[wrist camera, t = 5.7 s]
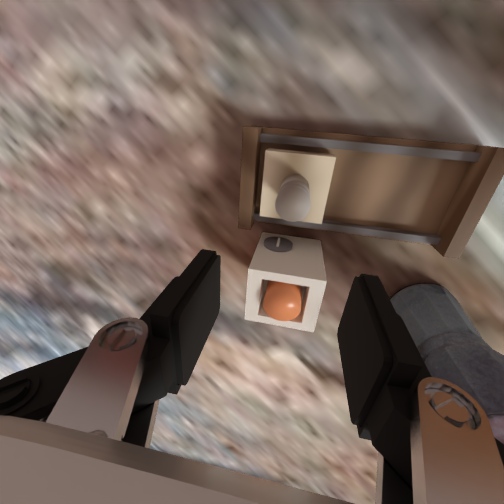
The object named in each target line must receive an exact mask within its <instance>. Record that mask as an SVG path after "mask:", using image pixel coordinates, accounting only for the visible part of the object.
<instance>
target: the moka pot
mask: <svg viewBox="0 0 504 504" xmlns="http://www.w3.org/2000/svg"><path fill="white" fill-rule="evenodd" d="M390 301H391V303H392V305H393V307H394V309H395V311H396V313H397V314H398V315H400V316H401V318H402V319H403V321H404V323H405V325H406V327H407V329H408V331H409V333H410V335H411V337H412V339H413V341H414V343H415V345H416V347H417V349H418V351H419V353H420V355H421V357H422V359H423V361H424V363H425V364H426V366H427V368H428V370H429V372H430V374H431V376H432V377H435V378H440V379H443V380H447V381H449V382H451V383H453V384H455V385H457V386H458V387H460V388H461V389H463V390H464V391H466V392H467V393H468V394H469V395H470V396H471V397H473V398H474V399H475V400H476V401H477V402H478V404H479V405H480V406H481V407H482V409H483V410H484V411H485V414H486V416H487V418H488V420H489V422H490V426H491V429H492V432H493V435H494V437H495V438H496V439H497V440H499V441H500V442H501V443H503V444H504V355H502V354H500V353H499V352H497V351H495V350H493V349H492V348H491V347H490V346H489V345H488V344H487V343H486V342H485V341H484V340H483V339H482V337H481V336H480V334H479V332H478V331H477V330H476V328H475V327H474V325H473V324H472V322H471V321H470V319H469V318H468V316H467V315H466V313H465V312H464V310H463V309H462V307H461V306H460V304H459V303H458V301H457V300H456V298H455V297H454V296H453V295H452V294H451V293H450V292H449V291H447V290H446V289H445V288H444V287H442V286H440V285H434V284H417V285H412V286H409V287H407V288H405V289H402V290H401V291H399V292H398V293H396V294H395V295H394V296H393V297H392V298H391V299H390Z"/></svg>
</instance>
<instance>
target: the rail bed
mask: <svg viewBox="0 0 504 504" xmlns="http://www.w3.org/2000/svg"><path fill="white" fill-rule="evenodd" d="M268 148H274V149H285V150H295V151H306V152H316V153H327V154H333V155H334V156H335V157H336V161H335V165H334V170H333V174H332V179H331V183H330V188H329V193H328V197H327V202H326V206H325V211H324V215H323V220H322V224H317V223H309V222H302V221H296V222H289V221H286V220H284V219H279V218H271V217H264V216H260V205H261V194H262V183H263V172H264V161H265V150H267V149H268ZM503 175H504V148H499V147H490V146H481V145H469V144H457V143H445V142H433V141H422V140H410V139H398V138H386V137H375V136H363V135H351V134H339V133H327V132H316V131H304V130H292V129H280V128H268V127H257V126H243V139H242V160H241V180H240V200H239V221H238V228H241V229H248V230H250V229H251V227H252V225H253V223H254V222H255V221H256V222H264V223H271V224H278V225H286V226H293V227H301V228H308V229H315V230H323V231H330V232H338V233H345V234H352V235H360V236H367V237H375V238H382V239H390V240H397V241H404V242H412V243H419V244H427V245H432V246H433V247H434V248H435V249H436V250H437V251H438V252H439V253H440V254H441V255H442V256H443V257H448V258H455V259H459V257H460V255H461V254H462V252H463V250H464V248H465V246H466V244H467V242H468V240H469V239H470V237H471V235H472V233H473V231H474V229H475V227H476V226H477V224H478V222H479V220H480V218H481V216H482V214H483V213H484V211H485V209H486V207H487V205H488V203H489V201H490V200H491V198H492V196H493V194H494V192H495V190H496V188H497V187H498V185H499V183H500V181H501V179H502V177H503Z"/></svg>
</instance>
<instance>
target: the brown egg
mask: <svg viewBox="0 0 504 504" xmlns="http://www.w3.org/2000/svg"><path fill="white" fill-rule="evenodd" d="M263 308H264V310H265V312H266V313H267V315H268V316H270V317H271V318H273V319H275V320H278V321H289V320H292V319H294V318H296V317H297V316H298V315H299V314H300V311H301V285H295V284H289V283H283V282H277V281H271V280H268V284H267V288H266V293H265V297H264V302H263Z"/></svg>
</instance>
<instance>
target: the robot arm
mask: <svg viewBox="0 0 504 504" xmlns="http://www.w3.org/2000/svg"><path fill="white" fill-rule="evenodd" d="M219 309H220V255H216V251H211V250H204V249H202V250H201V251H200V252H199V253H198V254H197V256H196V257H195V258H194V259H193V260H192V262H191V263H190V264H189V265H188V267H187V268H186V269H185V270H184V271H183V273H182V274H181V275H180V276H179V277H178V276H177V277H175V278H174V279H173V280H172V281H171V282H170V283H169V284H168V286H167V287H166V288H165V289H164V290H163V292H162V293H161V294H160V295H159V296H158V297H157V299H156V300H155V301H154V302H153V303H152V305H151V306H150V307H149V308H148V309H147V311H146V312H145V313H144V314H143V315H142V316H141V318H140V319H138V318H130V317H129V318H121V319H118V320H115V321H112V322H110V323H108V324H107V325H105V326H104V327H102V328H101V329H100V330H99V331H98V332H97V333H96V335H95V336H94V338H93V339H92V341H91V343H90V345H89V346H88V347H86V348H83V349H80V350H78V351H75V352H72V353H69V354H66V355H63V356H61V357H58V358H55V359H52V360H49V361H47V362H44V363H41V364H38V365H35V366H33V367H30V368H27V369H24V370H21V371H18V372H16V373H13V374H11V375H9V376H7V377H4V378H2V379H1V380H0V504H353V503H350V502H346V501H342V500H339V499H335V498H332V497H328V496H324V495H320V494H317V493H313V492H309V491H306V490H302V489H298V488H295V487H291V486H287V485H283V484H280V483H276V482H272V481H269V480H265V479H261V478H258V477H254V476H250V475H246V474H243V473H239V472H235V471H232V470H228V469H224V468H220V467H217V466H213V465H209V464H205V463H202V462H198V461H194V460H191V459H187V458H183V457H179V456H175V455H172V454H168V453H164V452H160V451H156V450H153V449H149V448H150V443H151V438H152V433H153V428H154V424H155V419H156V414H157V409H158V404H159V399H161V398H163V397H165V396H166V395H167V393H173V394H177V393H178V391H179V389H180V387H181V385H186V384H187V382H188V380H189V378H190V376H191V374H192V371H193V369H194V367H195V365H196V363H197V360H198V358H199V356H200V354H201V351H202V349H203V347H204V345H205V343H206V340H207V338H208V336H209V334H210V331H211V329H212V327H213V325H214V322H215V320H216V318H217V316H218V313H219ZM337 336H338V343H339V349H340V355H341V362H342V368H343V374H344V380H345V387H346V393H347V399H348V405H349V411H350V418H351V422H352V424H355V425H357V428H358V434H359V438H363V439H368V440H371V441H372V445H373V446H374V447H375V448H376V449H377V451H378V460H377V477H376V493H375V504H504V444H503V443H501V442H500V441H499V440H497V439H496V438H495V437H494V435H493V432H492V429H491V426H490V422H489V420H488V418H487V416H486V414H485V411H484V410H483V409H482V407H481V406H480V405H479V404H478V402H477V401H476V400H475V399H474V398H473V397H471V396H470V395H469V394H468V393H467V392H466V391H464V390H463V389H461V388H460V387H458V386H457V385H455V384H453V383H451V382H449V381H447V380H443V379H440V378H435V377H432V376H431V374H430V372H429V370H428V368H427V366H426V364H425V363H424V361H423V359H422V357H421V355H420V353H419V351H418V349H417V347H416V345H415V343H414V341H413V339H412V337H411V335H410V333H409V331H408V329H407V327H406V325H405V323H404V321H403V319H402V318H401V316H400V315H398V314H397V313H396V311H395V309H394V307H393V305H392V303H391V301H390V299H389V297H388V295H387V293H386V291H385V289H384V287H383V285H382V283H381V281H380V279H379V277H378V276H373V275H367V274H361V275H360V277H355V278H354V280H353V284H352V287H351V290H350V293H349V296H348V299H347V302H346V305H345V308H344V312H343V315H342V318H341V321H340V324H339V327H338V333H337Z"/></svg>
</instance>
